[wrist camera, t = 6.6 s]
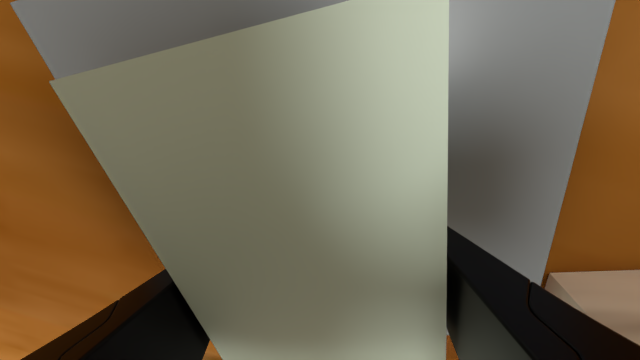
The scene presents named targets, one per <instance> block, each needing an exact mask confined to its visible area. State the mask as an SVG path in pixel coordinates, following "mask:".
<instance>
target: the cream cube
mask: <svg viewBox="0 0 640 360" xmlns="http://www.w3.org/2000/svg"><path fill="white" fill-rule="evenodd" d="M545 290H547V291H548V292H550V293H552V294H553V295H555V296H556V297H558V298H560V299H561V300H563V301H564V302H566V303H568V304H569V305H571V306H572V307H574V308H576V309H577V310H579V311H581V312H582V313H584V314H586V315H588V316H589V317H591V318H593V319H594V320H596V321H598V322H600V323H601V324H603V325H605V326H606V327H608V328H610V329H612V330H613V331H615V332H617V333H619V334H621V335H622V336H624V337H626V338H628V339H629V340H631V341H633V342H635V343H636V344H638V345H640V270H621V271H591V272H560V273H549V276H548V280H547V283H546V286H545Z"/></svg>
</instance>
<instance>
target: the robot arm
mask: <svg viewBox="0 0 640 360" xmlns="http://www.w3.org/2000/svg"><path fill="white" fill-rule="evenodd" d="M530 282H531V281H530V279H528V278H527V277H525V276H524V275H522V274H521V273H519V272H518V271H516V270H514V269H513V268H511V267H510V266H508V265H507V264H505V263H504V262H502V261H501V260H499V259H498V258H496V257H495V256H493V255H491V254H490V253H488V252H487V251H485V250H484V249H482V248H481V247H479V246H478V245H476V244H475V243H473V242H472V241H470V240H468V239H467V238H465V237H464V236H462V235H461V234H459V233H458V232H456V231H455V230H453V229H452V228H450V227H449V226H447V301H446V328H447V330H448V333H449V335H450V338H451V340H452V343H453V345H454V348H455V350H456V353H457V355H458V358H459V360H640V345H638V344H636V343H635V342H633V341H631V340H629V339H628V338H626V337H624V336H622V335H621V334H619V333H617V332H615V331H613V330H612V329H610V328H608V327H606V326H605V325H603V324H601V323H600V322H598V321H596V320H594V319H593V318H591V317H589V316H588V315H586V314H584V313H582V312H581V311H579V310H577V309H576V308H574V307H572V306H571V305H569V304H568V303H566V302H564V301H563V300H561V299H560V298H558V297H556V296H555V295H553V294H552V293H550V292H548V291H547V290H545V289H544V288H542V287H541V286H539V285H538V284H536V283H535V282H531V283H530ZM209 341H210V338H209V337H208V335H207V334H206V332H205V330H204V329H203V327H202V326H201V324H200V322H199V321H198V319H197V318H196V316H195V314H194V313H193V311H192V310H191V308H190V306H189V305H188V303H187V302H186V300H185V298H184V297H183V295H182V294H181V292H180V290H179V289H178V287H177V286H176V284H175V282H174V281H173V279H172V278H171V276H170V274H169V273H168V271H167V270H166V269H165V270H163V271H162V272H160V273H159V274H157V275H155V276H154V277H152V278H151V279H149V280H148V281H146V282H145V283H143V284H142V285H140V286H139V287H137V288H135V289H134V290H132V291H131V292H129V293H128V294H126V295H125V296H123V297H122V298H120V300H117V301H115V302H114V303H112V304H111V305H109V306H108V307H106V308H105V309H103V310H101V311H100V312H98V313H97V314H95V315H94V316H92V317H90V318H89V319H87V320H86V321H84V322H82V323H81V324H79V325H78V326H76V327H74V328H73V329H71V330H69V331H68V332H66V333H64V334H63V335H61V336H59V337H58V338H56V339H54V340H53V341H51V342H49V343H48V344H46V345H44V346H43V347H41V348H39V349H38V350H36V351H34V352H33V353H31V354H29V355H28V356H26V357H24V358H22V359H21V360H202V359H203V356H204V354H205V351H206V349H207V346H208V343H209Z"/></svg>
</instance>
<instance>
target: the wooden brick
mask: <svg viewBox="0 0 640 360" xmlns="http://www.w3.org/2000/svg"><path fill="white" fill-rule="evenodd" d="M448 73H449V0H349V1H345V2H341V3H338V4H334V5H330V6H326V7H323V8H319V9H315V10H312V11H308V12H304V13H300V14H297V15H293V16H289V17H286V18H282V19H278V20H275V21H271V22H267V23H263V24H260V25H256V26H252V27H249V28H245V29H241V30H237V31H234V32H230V33H226V34H223V35H219V36H215V37H211V38H208V39H204V40H200V41H197V42H193V43H189V44H185V45H182V46H178V47H174V48H171V49H167V50H163V51H160V52H156V53H152V54H148V55H145V56H141V57H137V58H134V59H130V60H126V61H122V62H119V63H115V64H111V65H108V66H104V67H100V68H96V69H93V70H89V71H85V72H82V73H78V74H74V75H70V76H67V77H63V78H59V79H56V80H52V81H49V83H50V84H51V86H52V88H53V89H54V91H55V92H56V94H57V96H58V97H59V99H60V100H61V102H62V103H63V105H64V107H65V108H66V110H67V111H68V113H69V115H70V116H71V118H72V119H73V121H74V123H75V124H76V126H77V127H78V129H79V131H80V132H81V134H82V135H83V137H84V139H85V140H86V142H87V143H88V145H89V147H90V148H91V150H92V151H93V153H94V155H95V156H96V158H97V159H98V161H99V163H100V164H101V166H102V167H103V169H104V171H105V172H106V174H107V175H108V177H109V179H110V180H111V182H112V183H113V185H114V187H115V188H116V190H117V191H118V193H119V195H120V196H121V198H122V199H123V201H124V203H125V204H126V206H127V207H128V209H129V211H130V212H131V214H132V215H133V217H134V219H135V220H136V222H137V223H138V225H139V226H140V228H141V230H142V231H143V233H144V234H145V236H146V238H147V239H148V241H149V242H150V244H151V246H152V247H153V249H154V250H155V252H156V254H157V255H158V257H159V258H160V260H161V262H162V263H163V265H164V266H165V268H166V270H167V271H168V273H169V274H170V276H171V278H172V279H173V281H174V282H175V284H176V286H177V287H178V289H179V290H180V292H181V294H182V295H183V297H184V298H185V300H186V302H187V303H188V305H189V306H190V308H191V310H192V311H193V313H194V314H195V316H196V318H197V319H198V321H199V322H200V324H201V326H202V327H203V329H204V330H205V332H206V334H207V335H208V337H209V338H210V340H211V342H212V343H213V345H214V346H215V348H216V349H217V351H218V353H219V354H220V356H221V357H222V359H223V360H446V301H447V187H448Z"/></svg>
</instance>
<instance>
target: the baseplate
mask: <svg viewBox="0 0 640 360" xmlns="http://www.w3.org/2000/svg"><path fill="white" fill-rule="evenodd" d="M345 1H349V0H17V1H14V2H11V3H10V4H11V6H12V8H13V9H14V11H15V13H16V14H17V16H18V18H19V19H20V21H21V23H22V24H23V26H24V28H25V29H26V31H27V33H28V34H29V36H30V38H31V39H32V41H33V43H34V44H35V46H36V48H37V49H38V51H39V53H40V54H41V56H42V58H43V59H44V61H45V63H46V64H47V66H48V68H49V69H50V71H51V73H52V74H53V76H54V78H55V79H59V78H63V77H67V76H70V75H74V74H78V73H82V72H85V71H89V70H93V69H96V68H100V67H104V66H108V65H111V64H115V63H119V62H122V61H126V60H130V59H134V58H137V57H141V56H145V55H148V54H152V53H156V52H160V51H163V50H167V49H171V48H174V47H178V46H182V45H185V44H189V43H193V42H197V41H200V40H204V39H208V38H211V37H215V36H219V35H223V34H226V33H230V32H234V31H237V30H241V29H245V28H249V27H252V26H256V25H260V24H263V23H267V22H271V21H275V20H278V19H282V18H286V17H289V16H293V15H297V14H300V13H304V12H308V11H312V10H315V9H319V8H323V7H326V6H330V5H334V4H338V3H341V2H345ZM614 4H615V0H449V73H448V187H447V226H449V227H450V228H452V229H453V230H455V231H456V232H458V233H459V234H461V235H462V236H464V237H465V238H467V239H468V240H470V241H472V242H473V243H475V244H476V245H478V246H479V247H481V248H482V249H484V250H485V251H487V252H488V253H490V254H491V255H493V256H495V257H496V258H498V259H499V260H501V261H502V262H504V263H505V264H507V265H508V266H510V267H511V268H513V269H514V270H516V271H518V272H519V273H521V274H522V275H524V276H525V277H527V278H528V279H530V281H531V282H535V283H536V284H538V285H539V286H541V282H542V278H543V274H544V271H545V267H546V263H547V259H548V255H549V252H550V248H551V244H552V240H553V236H554V233H555V229H556V225H557V221H558V217H559V213H560V210H561V206H562V202H563V198H564V194H565V191H566V187H567V183H568V179H569V175H570V172H571V168H572V164H573V160H574V156H575V152H576V149H577V145H578V141H579V137H580V133H581V130H582V126H583V122H584V118H585V114H586V111H587V107H588V103H589V99H590V95H591V91H592V88H593V84H594V80H595V76H596V72H597V69H598V65H599V61H600V57H601V53H602V50H603V46H604V42H605V38H606V34H607V30H608V27H609V23H610V19H611V15H612V11H613V8H614ZM531 282H530V283H531ZM446 335H449V333H448V330H447V328H446Z"/></svg>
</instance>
